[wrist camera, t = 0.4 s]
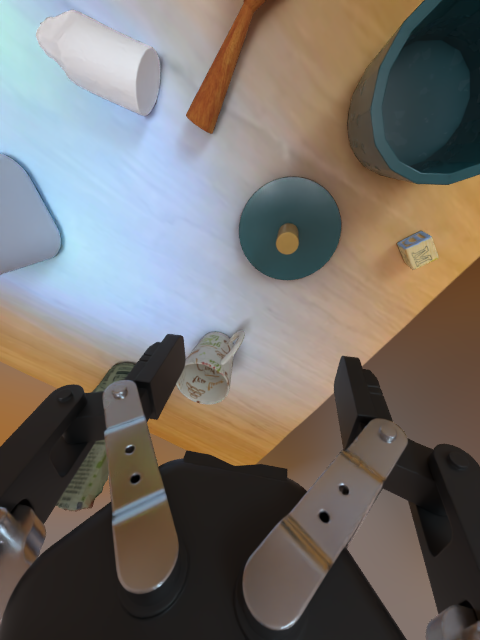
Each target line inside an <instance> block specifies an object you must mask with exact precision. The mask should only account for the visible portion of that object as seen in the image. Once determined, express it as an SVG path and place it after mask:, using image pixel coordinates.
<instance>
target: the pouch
mask: <svg viewBox="0 0 480 640" xmlns="http://www.w3.org/2000/svg"><path fill="white" fill-rule="evenodd" d="M134 366H135V365H134V364H131V363H122V364H117V365H114V366H113V367H112V368H111V369H110V370H109V371H108V373H107V374H106V375H105V377H104V378H103V380H102V381H101V382H100V384H99V385H98V386H97V387H96V388H95V389H94V390H93V392H101V391H104V390H105V389H106V388H107V387H108V386H109V385H110V384H112V383H114V382H117V381H120V380H124V379H125V378H126V376H127V375H128V374H129V372H130V371H131V370H132V368H133V367H134ZM107 480H108V465H107V456H106V446H105V440H101V441H96V442H95V444H94V445H93V447H92V449H91V450H90V452H89V453H88V455H87V456H86V458H85V460H84V461H83V463H82V464H81V466H80V468H79V469H78V471H77V472H76V474H75V476H74V477H73V479H72V480H71V482H70V483H69V485H68V487H67V488H66V490H65V491H64V493H63V495H62V496H61V498H60V499H59V501H58V502H57V504H56V506H58V507H59V508H62V509H64V510H70V511H78V510H81V509H86V508H87V509H88V508H92V507H93V503H94V500H95V498H96V497H97V496H98V495H99V494H100V493H101V492H102V490H103V486H104V484H105V482H106V481H107Z"/></svg>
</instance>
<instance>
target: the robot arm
mask: <svg viewBox="0 0 480 640" xmlns="http://www.w3.org/2000/svg"><path fill="white" fill-rule="evenodd" d="M185 361H186V359H185V348H184V339H183V336H181V335H173V334H167V335H166V337H165V338H164V339H163V341H162V342H161V343H160V342H156V343H155V344H153V345H152V346H150V347H149V348H148V349H147V350H146V352H145V353H144V355H142V357H141V358H140V359H139V361H138V362H137V363H136V365H135V366H134V367H133V368H132V370H131V371H130V372H129V374H128V375H127V376H126V378H125V379H124V380H120V381H117V382H114V383H112V384H110V385H109V386H108V387H107V388H106V389H105V390H104V391H101V392H92V393H84V390H83V388H82V387H81V386H79V385H66V386H63V387H60V388H58V389H57V390H55V391H53V392H52V393H51V394H50V395H49V396H48V397H47V398H46V399H45V400H44V401H43V402H42V403H41V404H40V406H39V407H38V408H37V409H36V410H35V411H34V412H33V413H32V414H31V415H30V416H29V417H28V418H27V419H26V420H25V421H24V422H23V423H22V425H21V426H20V427H19V428H18V429H17V430H16V431H15V432H14V433H13V434H12V435H11V436H10V437H9V438H8V439H7V440H6V442H4V444H3V445H2V446H1V447H0V640H407V639H406V638H405V636H404V635H403V633H402V632H401V630H400V629H399V627H398V626H397V624H396V623H395V621H394V620H393V618H392V617H391V615H390V613H389V612H388V610H387V609H386V607H385V606H384V605H383V603H382V602H381V600H380V598H379V597H378V595H377V594H376V592H375V591H374V589H373V588H372V586H371V585H370V583H369V582H368V580H367V579H366V577H365V576H364V574H363V572H362V571H361V569H360V568H359V567H358V565H357V564H356V562H355V561H354V559H353V557H352V556H351V554H350V553H349V551H348V550H347V548H348V546H349V544H350V543H351V541H352V540H353V538H354V536H355V534H356V533H357V531H358V529H359V528H360V526H361V524H362V522H363V521H364V519H365V517H366V516H367V514H368V513H369V511H370V509H371V508H372V506H373V504H374V503H375V501H376V499H377V498H378V496H379V494H380V493H381V491H382V489H386V490H388V491H390V492H392V493H394V494H396V495H398V496H400V497H402V498H404V499H406V500H408V502H409V505H410V509H411V513H412V517H413V521H414V524H415V528H416V531H417V536H418V539H419V543H420V546H421V550H422V554H423V558H424V562H425V565H426V569H427V573H428V576H429V580H430V583H431V588H432V591H433V595H434V599H435V603H436V606H437V610H438V615H437V616H436V617H434V618H433V619H432V620H431V621H430V622H429V623H428V626H427V629H426V640H480V467H479V465H478V463H477V462H476V461H475V460H474V459H473V458H472V457H471V456H470V455H469V454H468V453H466V452H465V451H463V450H462V449H460V448H458V447H455V446H453V445H449V444H439V445H437V446H436V447H435V448H434V450H433V449H431V448H428V447H426V446H423V445H421V444H418V443H416V442H414V441H412V440H410V439H408V438H407V436H406V434H405V433H404V431H403V430H402V429H401V428H400V427H399V426H398V425H397V424H395V423H393V421H392V418H391V415H390V413H389V410H388V407H387V404H386V402H385V399H384V396H383V393H382V391H381V389H380V385H379V382H378V380H377V378H376V377H375V375H374V374H373V373H372V372H371V371H370V370H366V369H362V366H361V362H360V359H359V358H355V357H347V356H342V357H341V359H340V363H339V366H338V370H337V374H336V377H335V381H334V394H335V401H336V406H337V413H338V419H339V425H340V431H341V438H342V444H343V450H342V451H341V452H340V453H339V454H338V455H337V456H336V458H335V459H334V460H333V461H332V463H331V464H330V465H329V466H328V467H327V469H326V470H325V471H324V472H323V473H322V475H321V476H320V477H319V478H318V479H317V481H316V482H315V483H314V484H313V485H312V487H311V488H310V489H309V490H308V491H306V490H305V489H304V488H303V487H302V486H300V485H299V484H298V483H296V482H294V481H293V480H291V479H289V478H287V469H285V468H279V467H274V466H268V465H263V464H258V465H244V466H233V465H231V464H229V463H226V462H224V461H222V460H220V459H218V458H216V457H214V456H212V455H208V454H203V453H197V452H192V451H186V453H185V456H184V459H177V460H173V461H170V462H167V463H165V464H162V465H161V466H159V467H158V463H157V459H156V456H155V452H154V448H153V444H152V441H151V437H150V433H149V429H148V426H147V421H148V419H149V418H150V419H156V420H157V419H158V418H159V416H160V414H161V412H162V410H163V408H164V406H165V404H166V402H167V400H168V399H169V397H170V395H171V393H172V391H173V389H174V387H175V385H176V383H177V381H178V380H179V378H180V376H181V374H182V372H183V370H184V367H185ZM101 440H105V446H106V456H107V465H108V475H109V484H110V494H111V502H110V503H109V504H107V505H106V506H105V507H103V508H102V509H101V510H99V511H98V512H96V513H95V514H94V515H92V516H91V517H90V518H88V519H87V520H86V521H84V522H83V523H82V524H80V525H79V526H78V527H76V528H75V529H74V530H72V531H71V532H70V533H68V534H67V535H66V536H64V537H63V538H62V539H60V540H59V541H58V542H56V543H55V544H54V545H52V546H51V547H50V548H48V549H47V550H46V551H45V552H44V553H42V554H41V555H40V556H39V554H40V549H41V547H42V545H43V543H44V540H45V537H46V529H45V526H44V523H45V522H46V520H47V518H48V517H49V515H50V514H51V512H52V510H53V509H54V507H55V506H56V504H57V502H58V501H59V499H60V498H61V496H62V495H63V493H64V491H65V490H66V488H67V487H68V485H69V483H70V482H71V480H72V479H73V477H74V476H75V474H76V472H77V471H78V469H79V468H80V466H81V464H82V463H83V461H84V460H85V458H86V456H87V455H88V453H89V452H90V450H91V449H92V447H93V445H94V444H95V442H96V441H101ZM38 556H39V557H38Z"/></svg>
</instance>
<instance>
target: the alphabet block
mask: <svg viewBox="0 0 480 640" xmlns="http://www.w3.org/2000/svg"><path fill="white" fill-rule="evenodd" d="M397 245H398V248H399V250H400V252H401V255H402V257H403V260H404V262H405V263H406V264H407V265H408V266H409V267H410V268H411V269H412V270H414V269H417V268H419V267H421V266H423V265H425V264H427V263H430V262H432V261H434V260H436V259H438V254H437V251H436V249H435V245H434V243H433V240H432V237H431V236H430V235H428V234H426V233H424V232H423V231H420V232H417V233H415V234H414V235H412V236H410V237H408V238H406V239H404V240H402V241H400V242H398V243H397Z"/></svg>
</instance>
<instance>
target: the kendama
mask: <svg viewBox="0 0 480 640" xmlns="http://www.w3.org/2000/svg"><path fill="white" fill-rule="evenodd" d="M265 1H266V0H244V4H243V6H242V8H241V10H240V12H239V14H238V16H237V18H236V19H235V21H234V23H233V25H232V27H231V29H230V31H229V33H228V35H227V37H226V39H225V41H224V43H223V44H222V46H221V48H220V50H219V52H218V54H217V56H216V58H215V60H214V62H213V64H212V66H211V68H210V69H209V71H208V73H207V75H206V77H205V79H204V81H203V83H202V85H201V87H200V89H199V91H198V93H197V94H196V96H195V98H194V100H193V102H192V104H191V106H190V108H189V110H188V112H187V114H186V116H187V118H188V119H189V120H190V121H192V122H193V123H194V124H195V125H197V126H198V127H200V128H201V129H203V130H204V131H206V132H208V133H211V134H212V133H213V130H214V128H215V125H216V122H217V119H218V116H219V113H220V110H221V107H222V104H223V101H224V98H225V95H226V92H227V89H228V87H229V84H230V81H231V78H232V75H233V72H234V69H235V66H236V63H237V60H238V57H239V54H240V51H241V48H242V46H243V43H244V40H245V37H246V34H247V31H248V28H249V25H250V22H251V19H252V16H253V13H254V12H255V11H256V10H257V9H258V8H259V7H260V6H261V5H262V4H263V3H264V2H265Z"/></svg>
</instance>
